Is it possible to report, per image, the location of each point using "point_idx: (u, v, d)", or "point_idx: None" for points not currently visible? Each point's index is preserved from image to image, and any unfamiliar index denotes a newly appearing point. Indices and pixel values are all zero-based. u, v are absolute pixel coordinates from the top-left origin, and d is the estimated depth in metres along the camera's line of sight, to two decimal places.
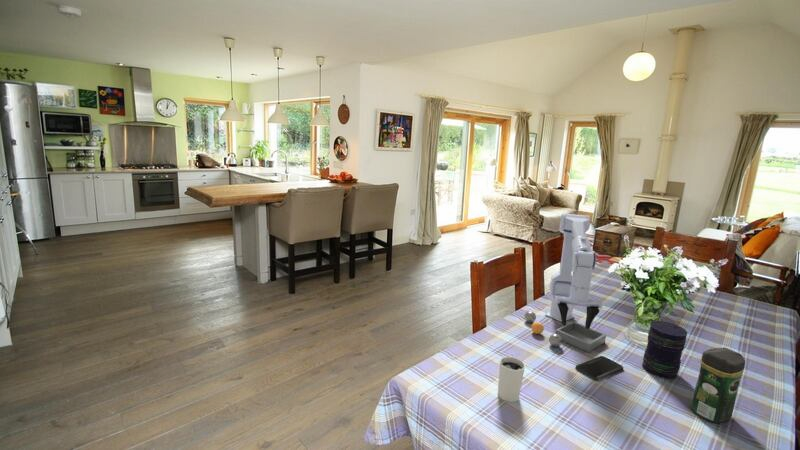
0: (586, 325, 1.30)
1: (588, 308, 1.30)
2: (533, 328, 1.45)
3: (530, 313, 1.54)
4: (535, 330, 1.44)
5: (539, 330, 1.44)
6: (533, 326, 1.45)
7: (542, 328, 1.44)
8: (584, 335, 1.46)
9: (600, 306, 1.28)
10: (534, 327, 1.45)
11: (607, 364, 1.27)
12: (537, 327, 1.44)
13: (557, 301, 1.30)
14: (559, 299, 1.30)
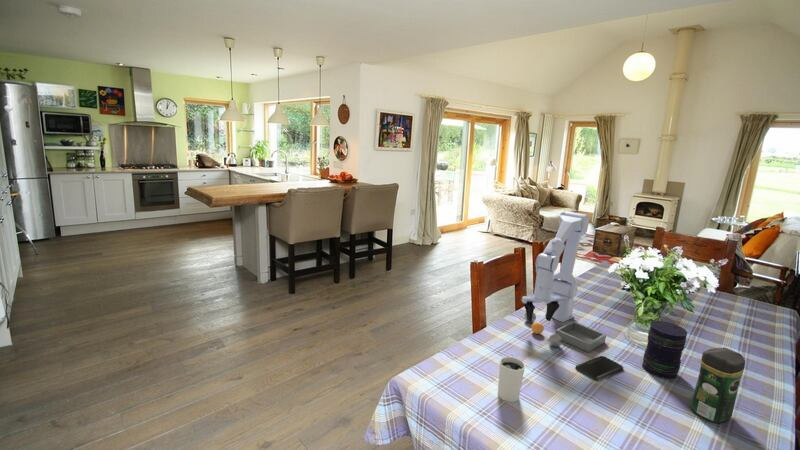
0: (547, 318, 1.46)
1: (548, 303, 1.45)
2: (533, 328, 1.45)
3: None
4: (535, 330, 1.44)
5: (539, 330, 1.44)
6: (533, 326, 1.45)
7: (542, 328, 1.44)
8: (584, 335, 1.46)
9: (559, 301, 1.44)
10: (534, 327, 1.45)
11: (607, 364, 1.27)
12: (537, 327, 1.44)
13: (525, 301, 1.41)
14: (526, 299, 1.41)
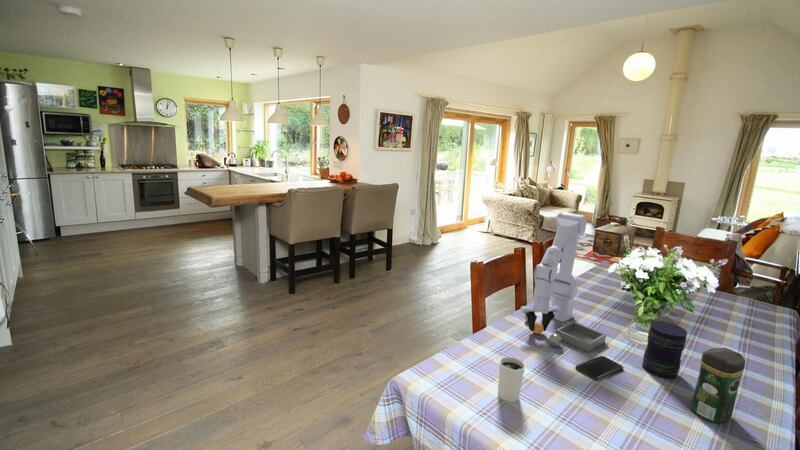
0: None
1: (544, 313, 1.46)
2: None
3: None
4: (535, 330, 1.44)
5: (539, 330, 1.44)
6: None
7: (542, 328, 1.44)
8: (584, 335, 1.46)
9: (558, 311, 1.44)
10: (534, 327, 1.45)
11: (607, 364, 1.27)
12: (537, 327, 1.44)
13: (523, 311, 1.42)
14: (525, 309, 1.42)
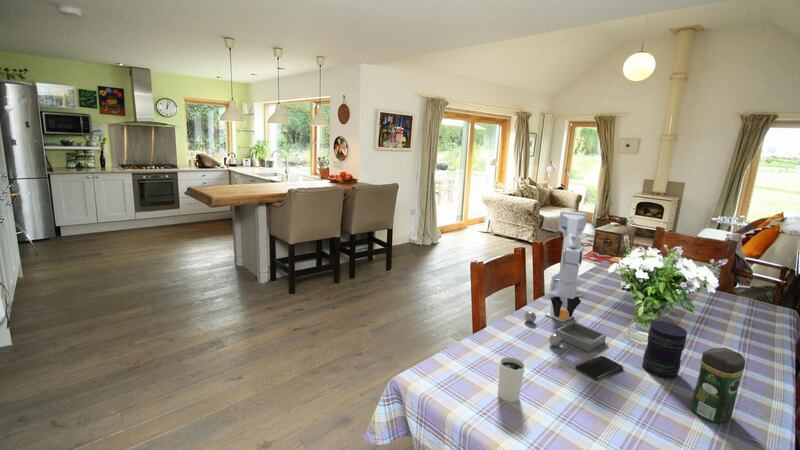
0: None
1: (569, 298, 1.42)
2: None
3: (530, 313, 1.54)
4: (560, 316, 1.41)
5: (565, 316, 1.40)
6: None
7: (568, 314, 1.41)
8: (584, 335, 1.46)
9: (584, 296, 1.41)
10: None
11: (607, 364, 1.27)
12: (562, 313, 1.41)
13: (549, 297, 1.39)
14: (550, 295, 1.39)
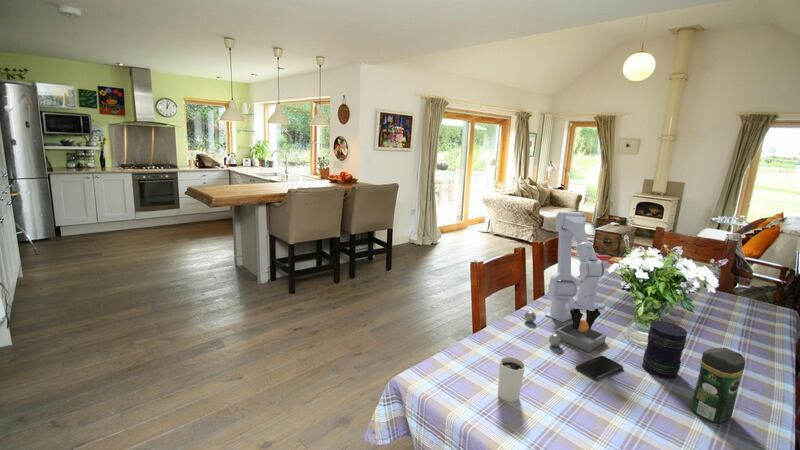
0: None
1: (589, 310, 1.42)
2: None
3: (530, 313, 1.54)
4: (580, 328, 1.40)
5: (584, 328, 1.40)
6: None
7: (587, 326, 1.40)
8: (584, 335, 1.46)
9: (603, 308, 1.40)
10: (579, 325, 1.40)
11: (607, 364, 1.27)
12: (582, 325, 1.40)
13: (568, 309, 1.38)
14: (570, 307, 1.38)
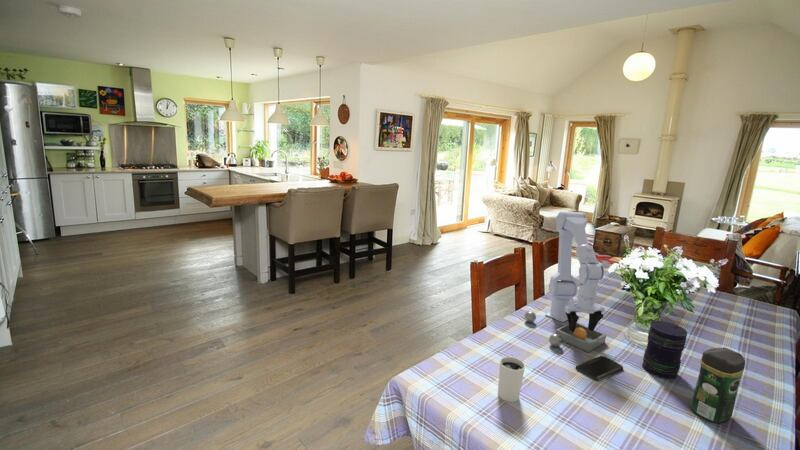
0: (590, 328, 1.43)
1: None
2: (576, 335, 1.41)
3: (530, 313, 1.54)
4: (578, 337, 1.41)
5: (582, 336, 1.40)
6: (575, 333, 1.41)
7: (585, 334, 1.41)
8: None
9: (603, 311, 1.40)
10: (577, 334, 1.41)
11: (607, 364, 1.27)
12: (580, 333, 1.40)
13: (568, 311, 1.38)
14: (570, 309, 1.38)
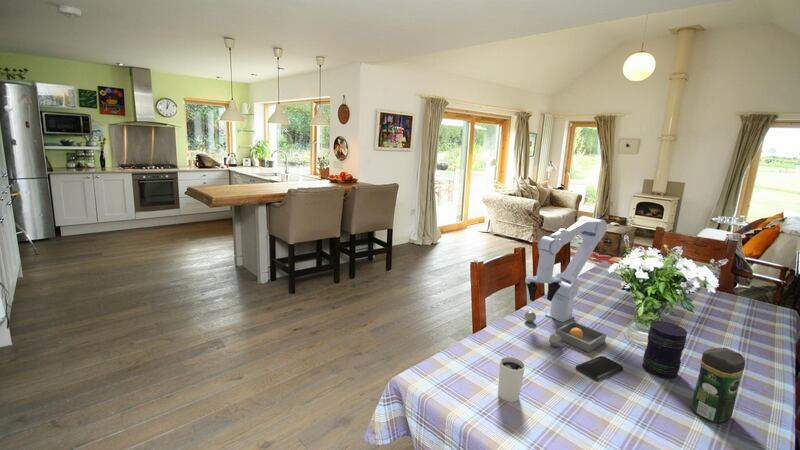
0: (548, 298, 1.54)
1: (550, 284, 1.54)
2: None
3: (530, 313, 1.54)
4: None
5: (579, 337, 1.40)
6: None
7: (580, 333, 1.40)
8: (584, 335, 1.46)
9: (560, 282, 1.52)
10: None
11: (607, 364, 1.27)
12: (575, 336, 1.40)
13: (528, 282, 1.50)
14: (530, 280, 1.49)
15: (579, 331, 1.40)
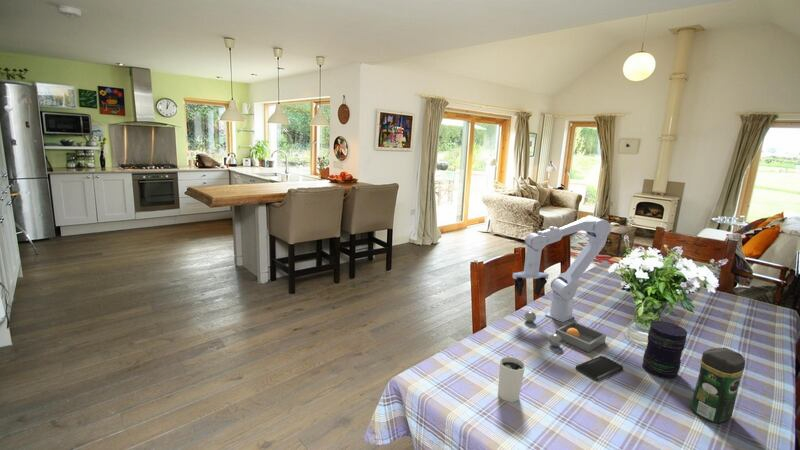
0: (536, 293, 1.59)
1: (537, 279, 1.58)
2: None
3: (530, 313, 1.54)
4: None
5: None
6: None
7: (574, 334, 1.40)
8: (584, 335, 1.46)
9: (547, 277, 1.57)
10: None
11: (607, 364, 1.27)
12: None
13: (515, 277, 1.54)
14: (516, 275, 1.54)
15: (572, 332, 1.40)
